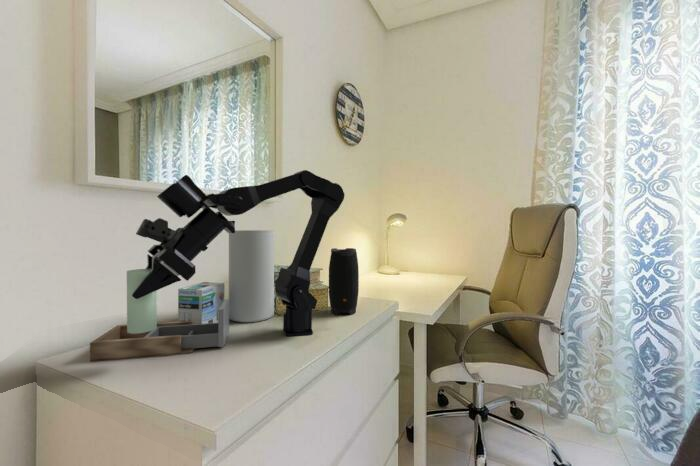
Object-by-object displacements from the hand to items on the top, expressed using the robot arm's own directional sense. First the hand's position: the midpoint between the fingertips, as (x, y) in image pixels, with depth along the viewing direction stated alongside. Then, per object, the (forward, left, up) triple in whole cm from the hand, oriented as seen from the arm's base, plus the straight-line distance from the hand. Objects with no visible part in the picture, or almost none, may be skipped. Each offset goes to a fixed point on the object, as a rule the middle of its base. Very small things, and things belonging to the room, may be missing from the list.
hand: (133, 294), depth 57 cm
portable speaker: (-46, -28, -14) cm, 56 cm away
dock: (0, -10, -13) cm, 17 cm away
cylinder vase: (-19, -29, -14) cm, 38 cm away
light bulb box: (-7, -23, -14) cm, 28 cm away
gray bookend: (-7, -10, -13) cm, 18 cm away
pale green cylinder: (-1, -1, -7) cm, 7 cm away
